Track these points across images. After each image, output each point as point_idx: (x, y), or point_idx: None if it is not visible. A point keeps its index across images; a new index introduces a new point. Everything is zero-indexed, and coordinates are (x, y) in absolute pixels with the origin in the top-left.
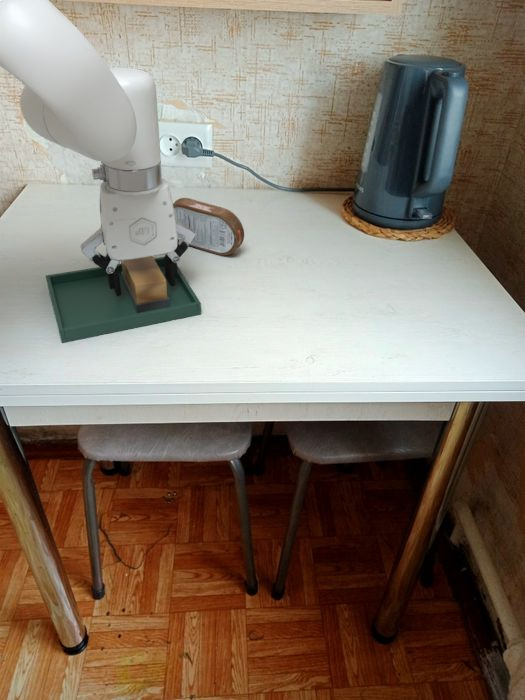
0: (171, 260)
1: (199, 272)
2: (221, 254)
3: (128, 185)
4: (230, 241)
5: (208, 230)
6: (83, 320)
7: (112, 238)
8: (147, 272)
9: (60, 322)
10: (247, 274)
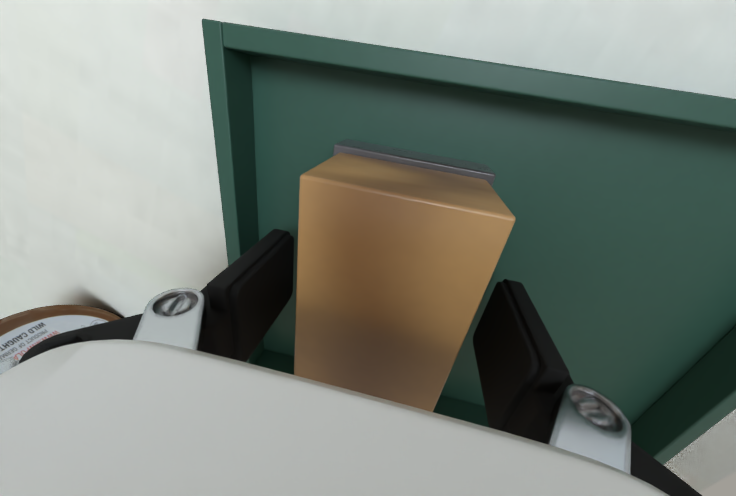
0: (210, 314)
1: (193, 284)
2: (117, 319)
3: None
4: (33, 334)
5: None
6: (712, 231)
7: None
8: (370, 301)
9: None
10: (53, 202)
